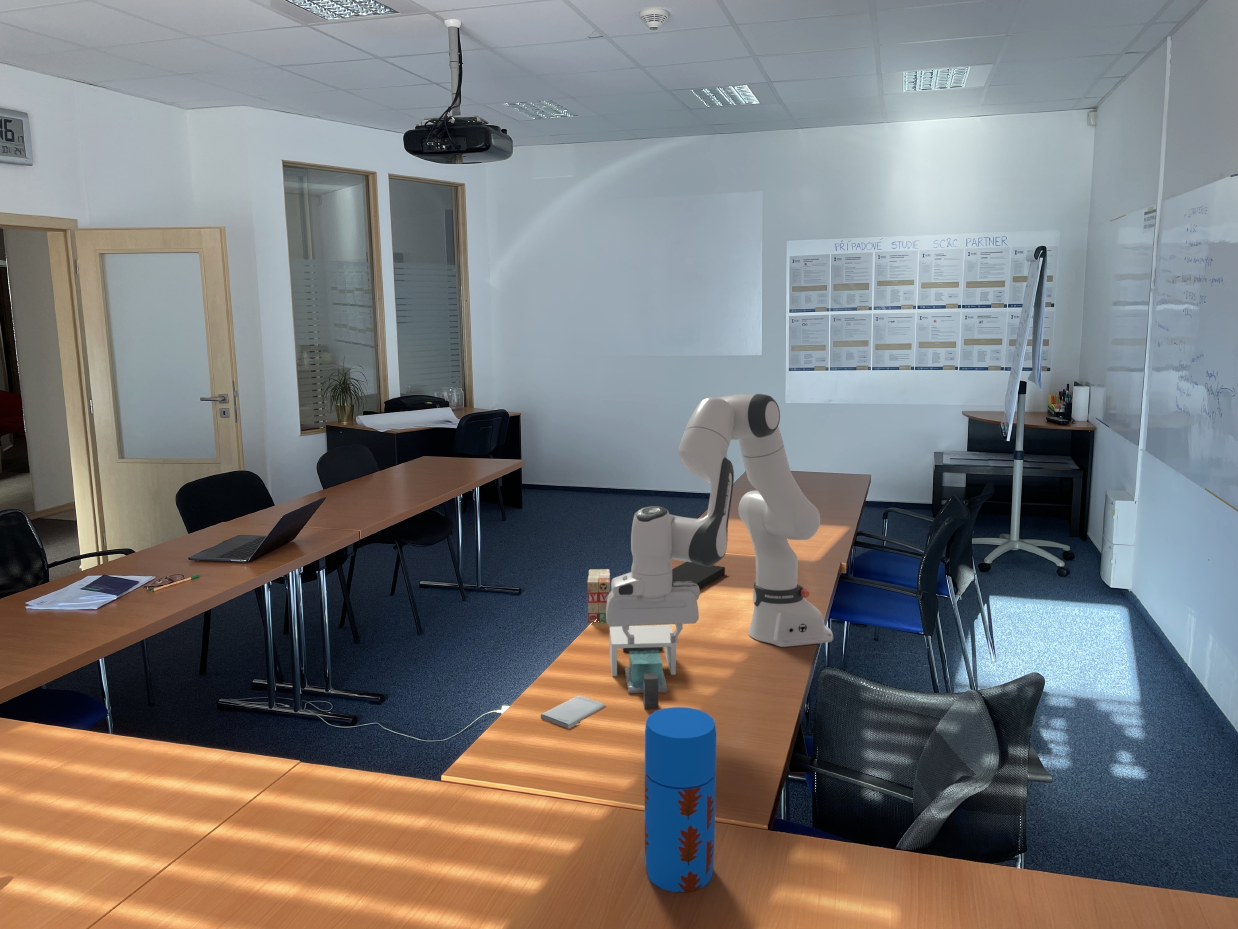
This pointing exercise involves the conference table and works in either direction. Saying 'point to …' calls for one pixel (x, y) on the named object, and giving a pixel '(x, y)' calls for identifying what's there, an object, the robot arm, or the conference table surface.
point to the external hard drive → (697, 573)
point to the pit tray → (642, 649)
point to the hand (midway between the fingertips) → (652, 643)
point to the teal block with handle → (646, 676)
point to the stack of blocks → (598, 594)
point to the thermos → (680, 798)
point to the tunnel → (643, 642)
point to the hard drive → (572, 711)
